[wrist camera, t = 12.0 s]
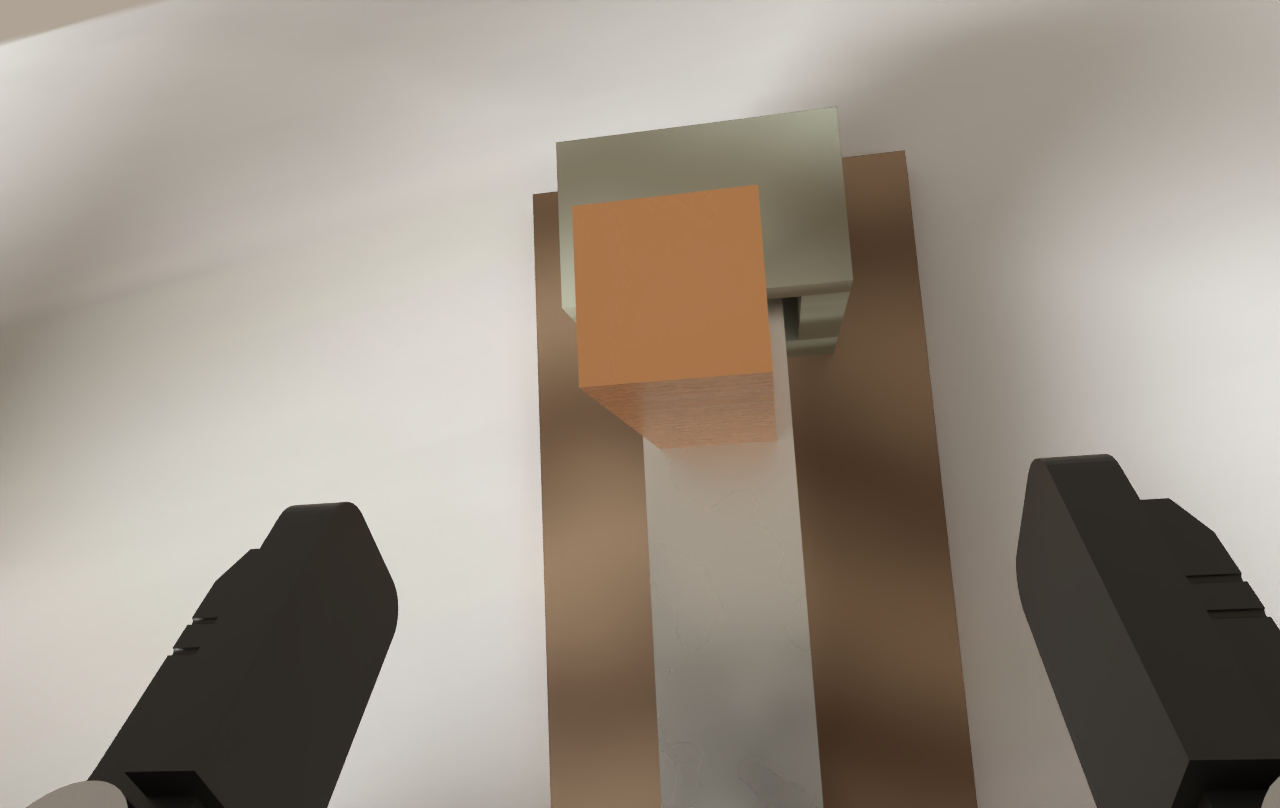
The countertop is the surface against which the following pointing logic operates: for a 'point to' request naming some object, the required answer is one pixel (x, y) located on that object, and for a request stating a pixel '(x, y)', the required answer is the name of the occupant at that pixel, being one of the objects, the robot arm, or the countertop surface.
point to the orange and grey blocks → (708, 486)
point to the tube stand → (825, 468)
